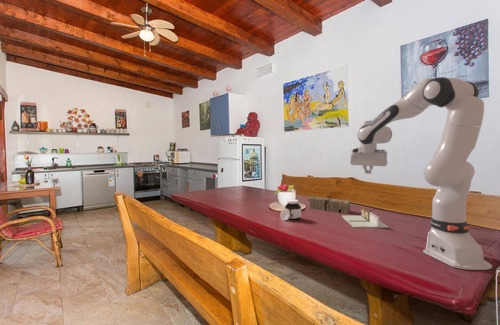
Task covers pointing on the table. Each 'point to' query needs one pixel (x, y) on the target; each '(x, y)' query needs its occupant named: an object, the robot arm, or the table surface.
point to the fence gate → (374, 219)
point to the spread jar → (291, 210)
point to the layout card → (362, 222)
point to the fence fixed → (366, 213)
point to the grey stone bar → (329, 204)
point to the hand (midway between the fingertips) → (368, 173)
